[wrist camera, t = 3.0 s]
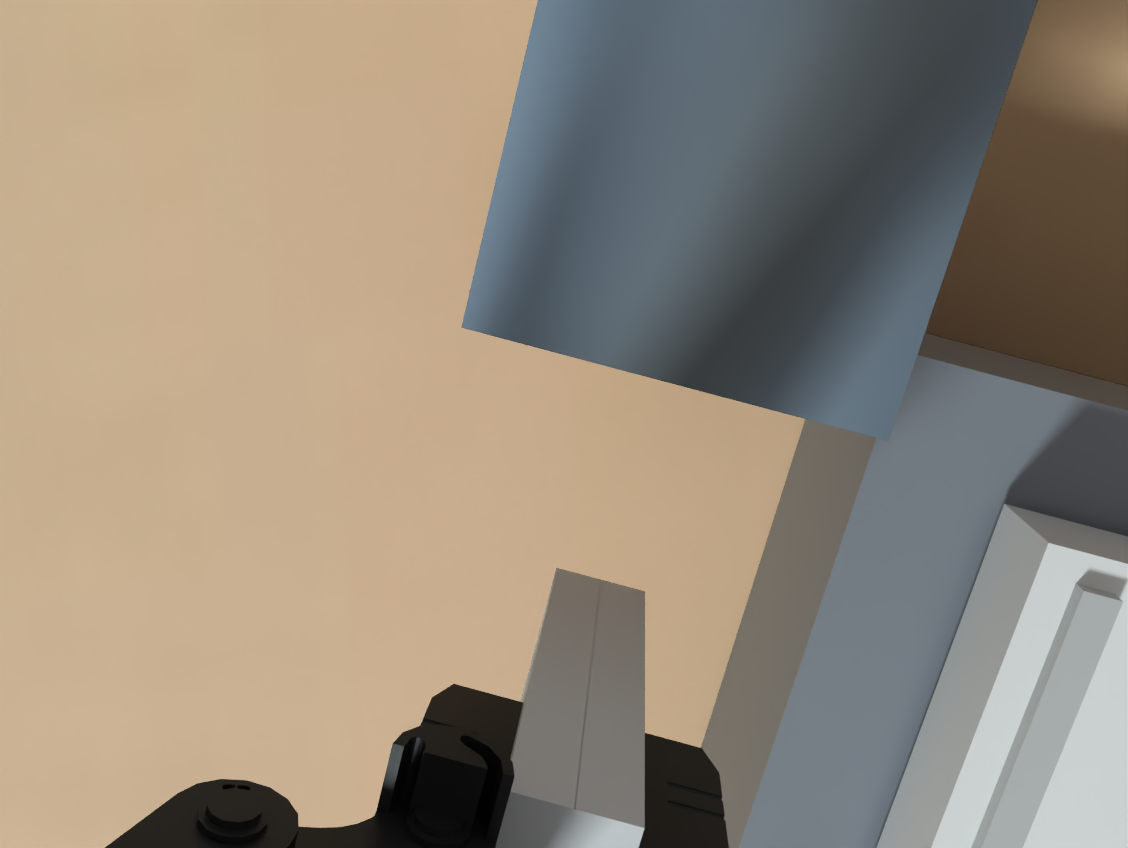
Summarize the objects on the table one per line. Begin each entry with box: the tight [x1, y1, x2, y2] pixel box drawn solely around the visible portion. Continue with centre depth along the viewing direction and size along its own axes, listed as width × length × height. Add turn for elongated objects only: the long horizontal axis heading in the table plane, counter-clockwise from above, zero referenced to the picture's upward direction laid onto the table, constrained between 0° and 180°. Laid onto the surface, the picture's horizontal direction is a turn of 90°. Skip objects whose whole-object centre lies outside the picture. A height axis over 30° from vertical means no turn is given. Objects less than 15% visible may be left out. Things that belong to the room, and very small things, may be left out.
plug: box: [462, 0, 1038, 441], centre depth 17 cm, size 5×5×12 cm
